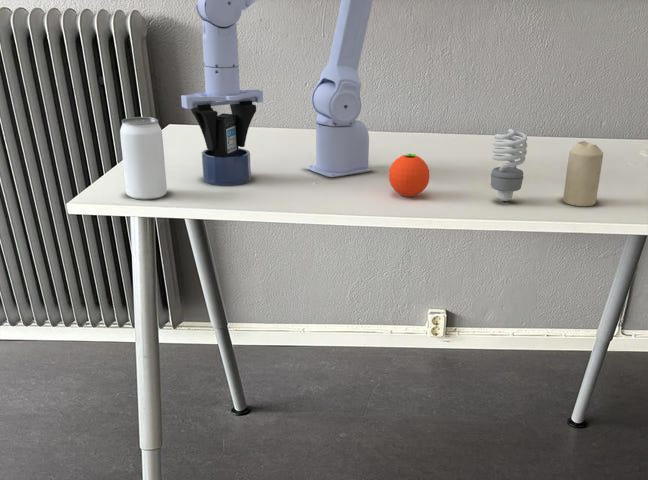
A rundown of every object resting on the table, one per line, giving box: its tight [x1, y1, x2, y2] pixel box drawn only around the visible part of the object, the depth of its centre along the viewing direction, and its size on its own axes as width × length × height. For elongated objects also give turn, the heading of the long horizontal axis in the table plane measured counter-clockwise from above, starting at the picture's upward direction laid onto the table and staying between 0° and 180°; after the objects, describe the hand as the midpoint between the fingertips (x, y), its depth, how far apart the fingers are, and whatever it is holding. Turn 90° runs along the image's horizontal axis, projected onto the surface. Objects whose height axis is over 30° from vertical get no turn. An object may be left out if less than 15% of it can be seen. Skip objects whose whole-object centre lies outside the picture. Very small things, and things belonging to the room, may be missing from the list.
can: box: [119, 116, 168, 201], centre depth 134 cm, size 6×6×12 cm
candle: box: [562, 140, 604, 207], centre depth 140 cm, size 6×6×10 cm
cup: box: [201, 147, 252, 186], centre depth 147 cm, size 8×8×5 cm
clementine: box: [388, 153, 431, 198], centre depth 141 cm, size 8×7×7 cm
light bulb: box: [490, 128, 528, 203], centre depth 138 cm, size 6×6×12 cm
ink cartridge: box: [214, 112, 240, 157], centre depth 145 cm, size 5×2×8 cm, turn 162°
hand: (225, 147), depth 145 cm, fingers closed on ink cartridge, 5 cm apart
